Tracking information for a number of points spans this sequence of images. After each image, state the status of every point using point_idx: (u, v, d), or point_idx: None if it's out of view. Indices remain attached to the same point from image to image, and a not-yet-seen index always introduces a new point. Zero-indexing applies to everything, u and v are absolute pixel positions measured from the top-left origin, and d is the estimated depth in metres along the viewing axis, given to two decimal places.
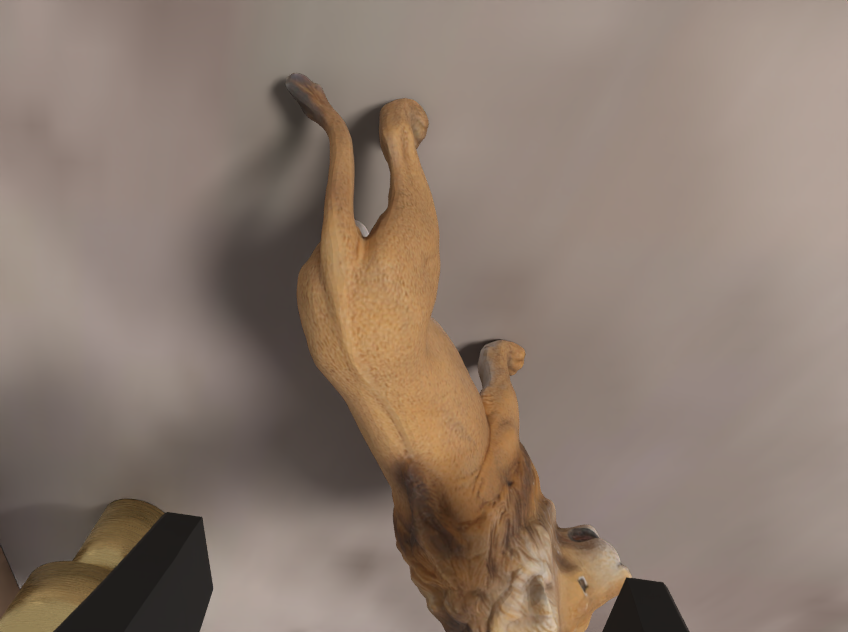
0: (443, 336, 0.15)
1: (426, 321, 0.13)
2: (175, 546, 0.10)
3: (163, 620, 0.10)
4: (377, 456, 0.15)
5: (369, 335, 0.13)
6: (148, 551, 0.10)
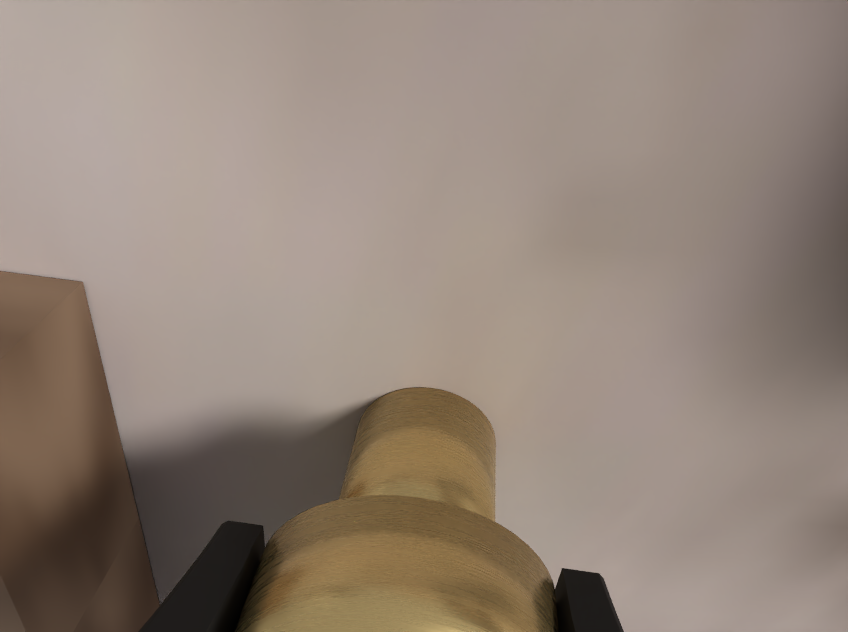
0: None
1: None
2: (240, 555, 0.10)
3: (230, 630, 0.10)
4: None
5: None
6: (214, 561, 0.10)
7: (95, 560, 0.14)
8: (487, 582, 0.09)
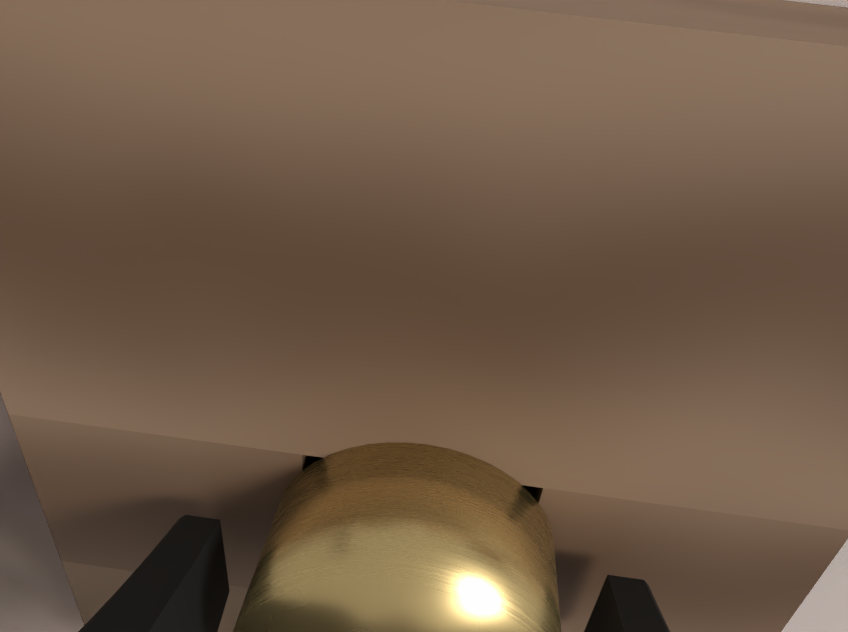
0: None
1: None
2: (194, 549, 0.10)
3: (183, 623, 0.10)
4: None
5: None
6: (168, 554, 0.10)
7: None
8: (492, 519, 0.09)
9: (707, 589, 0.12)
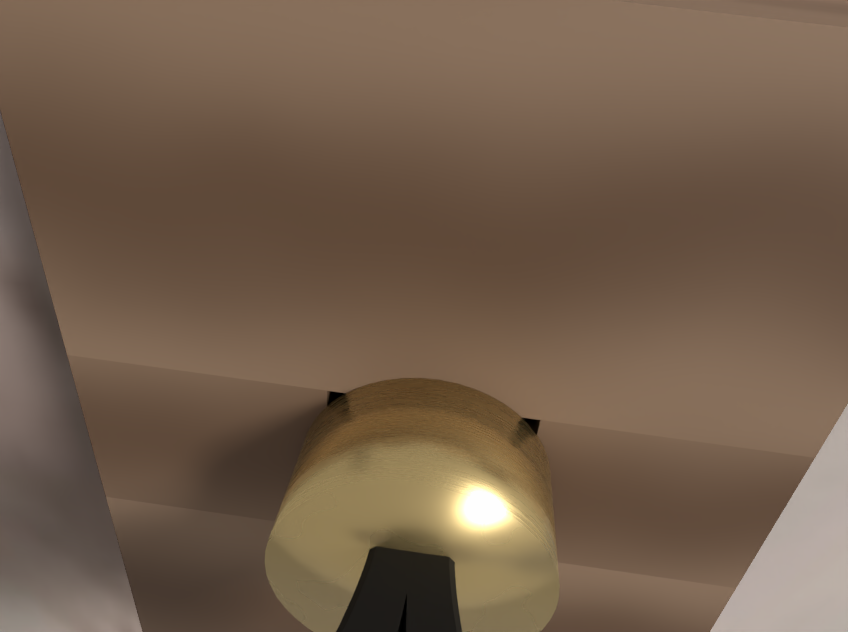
0: None
1: None
2: (401, 579, 0.10)
3: None
4: None
5: None
6: (378, 584, 0.10)
7: None
8: (496, 440, 0.11)
9: (688, 516, 0.13)
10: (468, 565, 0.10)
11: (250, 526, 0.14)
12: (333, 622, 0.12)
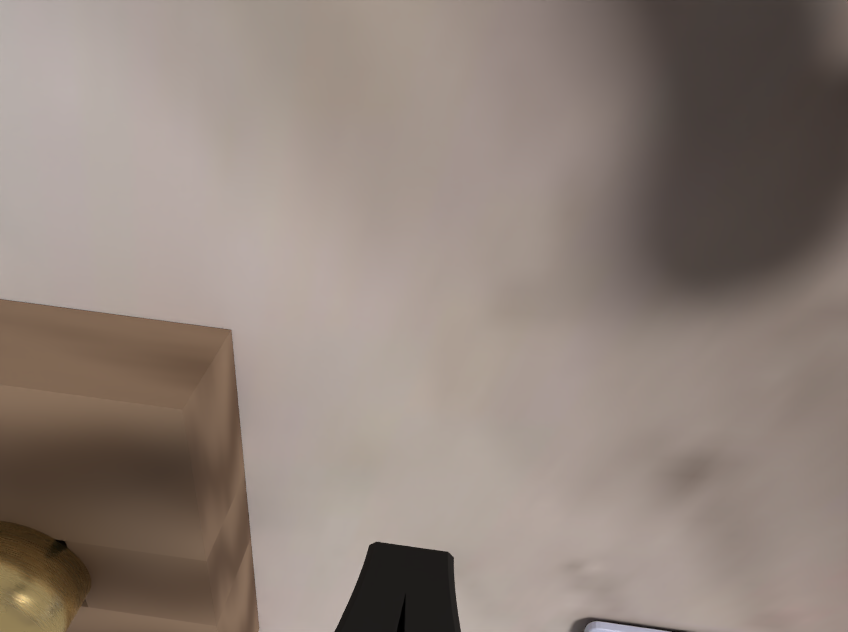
0: None
1: None
2: (400, 578, 0.10)
3: None
4: None
5: None
6: (377, 584, 0.10)
7: (226, 496, 0.24)
8: (19, 557, 0.21)
9: (167, 588, 0.23)
10: None
11: None
12: None
